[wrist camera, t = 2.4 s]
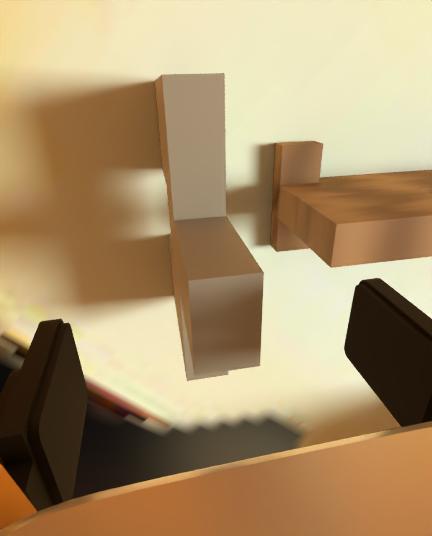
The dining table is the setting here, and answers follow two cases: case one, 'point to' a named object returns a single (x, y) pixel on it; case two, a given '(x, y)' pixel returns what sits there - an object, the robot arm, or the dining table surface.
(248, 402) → the dining table surface
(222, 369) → the grey slotted plate
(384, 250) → the walnut slotted stand
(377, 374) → the robot arm
